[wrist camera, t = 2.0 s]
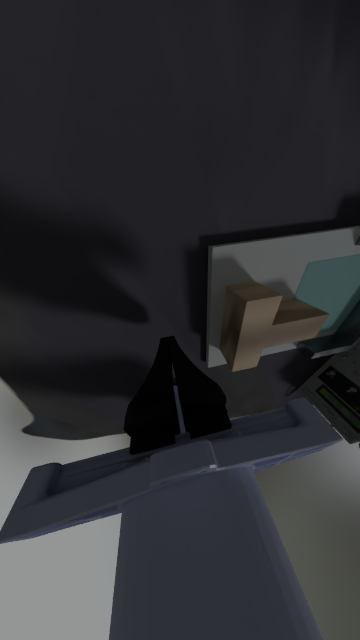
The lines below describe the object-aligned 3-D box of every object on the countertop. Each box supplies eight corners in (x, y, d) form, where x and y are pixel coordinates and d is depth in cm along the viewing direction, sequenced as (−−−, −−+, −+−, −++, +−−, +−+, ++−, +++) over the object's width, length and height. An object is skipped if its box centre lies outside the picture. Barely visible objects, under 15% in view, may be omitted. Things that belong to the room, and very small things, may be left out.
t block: (280, 336, 19) (302, 355, 16) (219, 349, 18) (232, 371, 15) (308, 272, 14) (350, 283, 11) (226, 285, 13) (246, 301, 10)
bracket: (336, 338, 22) (354, 348, 20) (296, 346, 21) (311, 358, 19) (426, 221, 13) (475, 219, 11) (362, 230, 12) (403, 230, 10)
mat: (329, 335, 23) (336, 339, 22) (206, 362, 21) (208, 367, 20) (415, 217, 14) (432, 216, 13) (208, 246, 12) (212, 247, 11)
